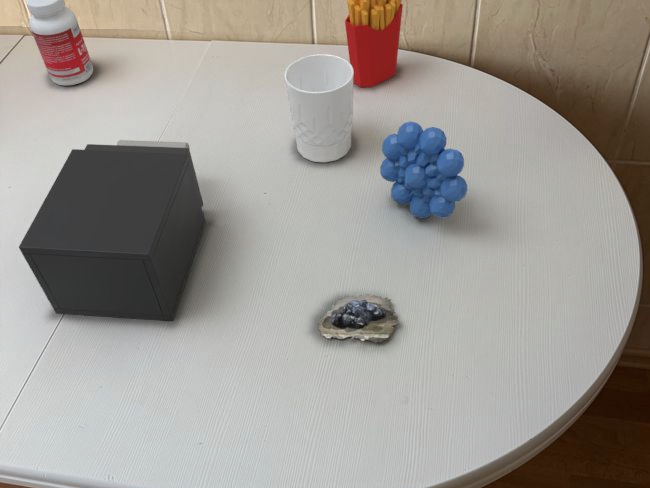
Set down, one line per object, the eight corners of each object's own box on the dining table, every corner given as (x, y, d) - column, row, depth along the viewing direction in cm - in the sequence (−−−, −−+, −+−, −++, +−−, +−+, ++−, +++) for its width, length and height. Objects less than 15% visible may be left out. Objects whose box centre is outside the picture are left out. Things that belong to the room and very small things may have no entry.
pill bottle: (96, 81, 99) (69, 3, 90) (52, 91, 98) (21, 13, 89) (91, 59, 103) (65, -18, 94) (49, 68, 102) (18, -9, 93)
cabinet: (100, 217, 82) (72, 148, 74) (206, 222, 80) (188, 153, 73) (55, 313, 73) (18, 247, 65) (173, 321, 72) (148, 254, 64)
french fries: (360, 93, 94) (358, 4, 85) (342, 80, 96) (338, -8, 87) (408, 69, 97) (411, -20, 87) (389, 57, 99) (391, -31, 89)
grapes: (484, 220, 78) (499, 128, 69) (444, 251, 76) (454, 160, 66) (407, 173, 84) (411, 82, 74) (367, 201, 81) (366, 110, 71)
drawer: (119, 176, 85) (99, 120, 78) (211, 180, 83) (198, 123, 77) (68, 285, 74) (40, 230, 68) (173, 291, 73) (154, 236, 67)
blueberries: (405, 341, 69) (405, 329, 67) (324, 357, 68) (323, 345, 66) (387, 291, 73) (387, 278, 71) (311, 306, 72) (309, 293, 70)
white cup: (360, 129, 89) (358, 55, 81) (350, 168, 85) (347, 94, 77) (299, 125, 90) (292, 52, 83) (286, 163, 86) (277, 90, 78)
